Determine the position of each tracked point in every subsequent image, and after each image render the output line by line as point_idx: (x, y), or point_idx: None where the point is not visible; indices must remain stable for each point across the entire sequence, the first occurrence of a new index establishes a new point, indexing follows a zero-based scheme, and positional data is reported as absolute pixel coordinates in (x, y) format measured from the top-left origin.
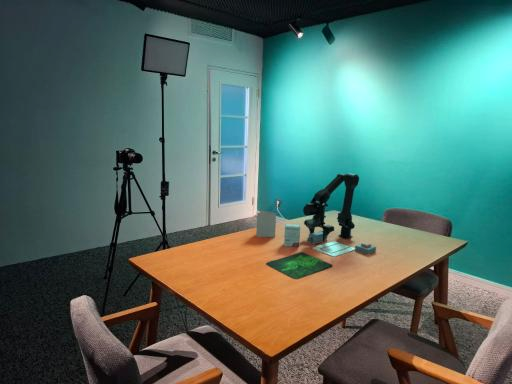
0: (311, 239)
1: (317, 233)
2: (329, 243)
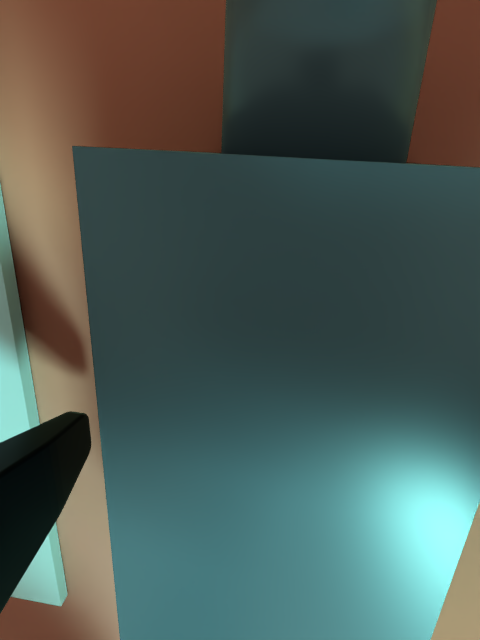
0: (227, 67)
1: (264, 613)
2: None
